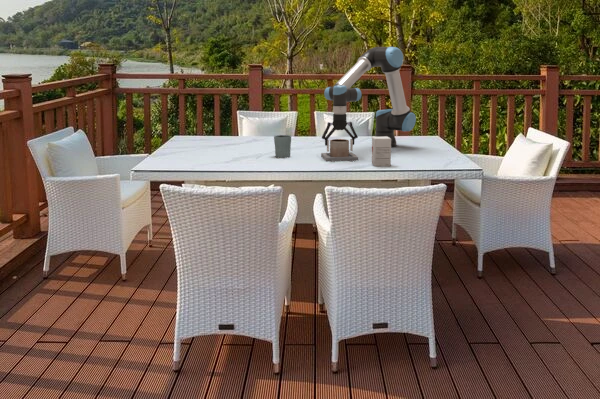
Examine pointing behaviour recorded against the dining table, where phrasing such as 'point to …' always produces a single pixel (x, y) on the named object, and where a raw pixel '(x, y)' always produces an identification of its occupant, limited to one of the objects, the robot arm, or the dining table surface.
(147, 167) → the dining table surface
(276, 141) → the grey cup
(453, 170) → the dining table surface
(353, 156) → the grey tray
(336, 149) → the planter
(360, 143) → the dining table surface
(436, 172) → the dining table surface
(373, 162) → the supplement box
